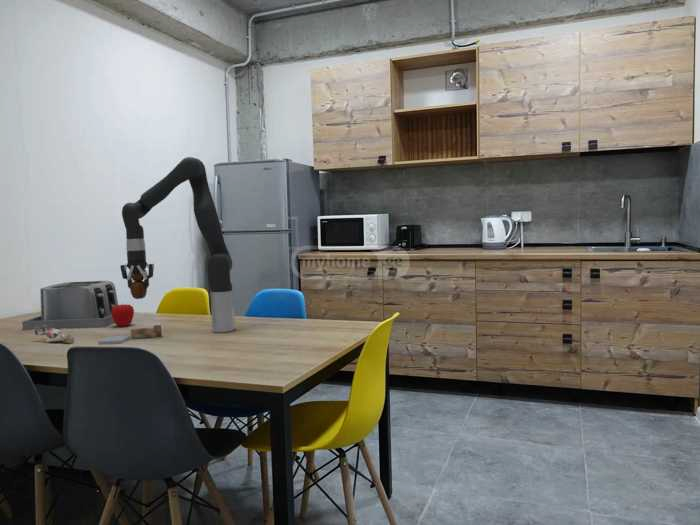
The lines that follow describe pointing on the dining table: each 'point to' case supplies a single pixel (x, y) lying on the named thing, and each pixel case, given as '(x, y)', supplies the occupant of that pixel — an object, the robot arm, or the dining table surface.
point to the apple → (122, 315)
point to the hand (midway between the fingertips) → (138, 288)
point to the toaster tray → (67, 323)
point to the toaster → (78, 300)
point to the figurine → (54, 334)
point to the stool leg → (146, 332)
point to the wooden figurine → (138, 286)
